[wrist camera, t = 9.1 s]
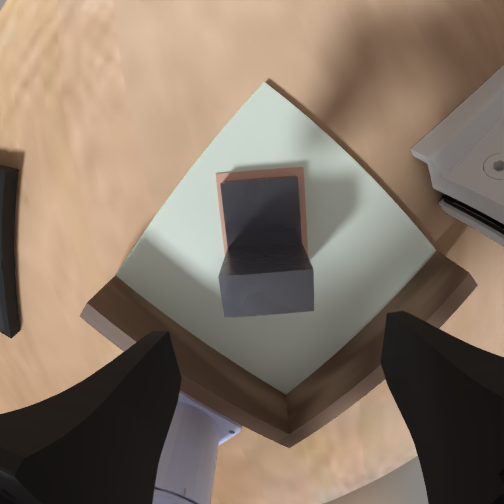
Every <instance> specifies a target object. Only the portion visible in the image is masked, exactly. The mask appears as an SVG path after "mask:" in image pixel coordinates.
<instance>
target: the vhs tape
mask: <svg viewBox="0 0 504 504" xmlns="http://www.w3.org/2000/svg"><path fill="white" fill-rule="evenodd" d="M18 171H19V170H18V169H14V168H10V167H5V166H1V165H0V332H1V333H3V334H5V335H6V336H8V337H10V338H12V337H13V336H15V335H16V334H17V333H18V332H19V331H20V322H19V314H18V305H17V295H16V281H15V259H14V226H15V204H16V191H17V180H18Z"/></svg>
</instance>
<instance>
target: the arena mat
mask: <svg viewBox="0 0 504 504" xmlns="http://www.w3.org/2000/svg"><path fill="white" fill-rule="evenodd" d="M282 176H297V177H298V186H299V201H300V218H301V236H302V244H303V246H304V248H305V251H306V253H307V255H308V258H309V260H310V262H311V265H312V267H313V271H314V311H309V312H298V313H286V314H274V315H260V316H245V317H228V318H224V313H223V306H222V299H221V292H220V286H219V279H218V276H219V273H220V270H221V267H222V264H223V261H224V258H225V255H226V252H227V249H228V247H227V238H226V230H225V221H224V213H223V204H222V195H221V186H220V183H222V182H226V181H235V180H246V179H257V178H269V177H282ZM435 252H436V249H435V248H434V247H433V246H432V244H431V243H430V242H429V241H428V239H427V238H426V237H425V236H424V235H423V233H422V232H421V231H420V230H419V229H418V227H417V226H416V225H415V224H414V223H413V222H412V220H411V219H410V218H409V217H408V216H407V215H406V213H405V212H404V211H403V210H402V209H401V208H400V207H399V206H398V205H397V203H396V202H395V201H394V200H393V199H392V198H391V197H390V196H389V195H388V194H387V193H386V191H385V190H384V189H383V188H382V187H381V186H380V185H379V184H378V183H377V182H376V181H375V180H374V179H373V178H372V177H371V176H370V175H369V174H368V173H367V172H366V171H365V170H364V169H363V168H362V167H361V166H360V165H359V164H358V163H357V162H356V161H355V160H354V159H353V158H352V157H351V156H350V155H349V154H348V153H347V152H346V151H345V150H344V149H343V148H342V147H341V146H339V145H338V144H337V143H336V142H335V141H334V140H333V139H332V138H331V137H330V136H329V135H328V134H326V133H325V132H324V131H323V130H322V129H321V128H320V127H319V126H317V125H316V124H315V123H314V122H313V121H312V120H311V119H309V118H308V117H307V116H306V115H305V114H304V113H302V112H301V111H300V110H299V109H298V108H296V107H295V106H294V105H293V104H292V103H290V102H289V101H288V100H287V99H285V98H284V97H283V96H282V95H280V94H279V93H278V92H277V91H275V90H274V89H273V88H272V87H270V86H269V85H268V84H266V83H265V82H264V83H263V84H262V85H261V86H260V87H259V88H258V89H257V90H256V91H255V93H254V94H253V95H252V96H251V97H250V98H249V99H248V100H247V101H246V103H245V104H244V105H243V106H242V107H241V108H240V109H239V111H238V112H237V113H236V114H235V115H234V116H233V117H232V119H231V120H230V121H229V122H228V123H227V124H226V126H225V127H224V128H223V129H222V130H221V132H220V133H219V134H218V135H217V136H216V138H215V139H214V140H213V141H212V142H211V144H210V145H209V146H208V147H207V149H206V150H205V151H204V152H203V154H202V155H201V156H200V157H199V159H198V160H197V161H196V162H195V164H194V165H193V166H192V168H191V169H190V170H189V171H188V173H187V174H186V175H185V177H184V178H183V179H182V181H181V182H180V183H179V184H178V186H177V187H176V188H175V190H174V191H173V192H172V194H171V195H170V197H169V198H168V199H167V201H166V202H165V203H164V205H163V206H162V208H161V209H160V210H159V212H158V213H157V215H156V216H155V217H154V219H153V220H152V222H151V223H150V224H149V226H148V227H147V229H146V230H145V232H144V233H143V235H142V236H141V237H140V239H139V240H138V242H137V243H136V245H135V246H134V248H133V249H132V251H131V252H130V254H129V255H128V257H127V258H126V260H125V262H124V263H123V265H122V266H121V268H120V269H119V271H118V272H117V274H116V276H117V277H118V278H119V279H121V280H122V281H123V282H124V283H126V284H127V285H128V286H129V287H131V288H132V289H133V290H134V291H136V292H137V293H138V294H139V295H141V296H142V297H143V298H144V299H146V300H147V301H148V302H150V303H151V304H152V305H154V306H155V307H156V308H157V309H159V310H160V311H161V312H163V313H164V314H165V315H167V316H168V317H169V318H171V319H172V320H174V321H175V322H176V323H178V324H179V325H180V326H182V327H183V328H185V329H186V330H187V331H189V332H190V333H192V334H193V335H194V336H196V337H197V338H199V339H200V340H202V341H203V342H204V343H206V344H207V345H209V346H210V347H212V348H213V349H215V350H216V351H218V352H219V353H221V354H222V355H224V356H225V357H227V358H228V359H230V360H231V361H233V362H234V363H236V364H237V365H239V366H240V367H242V368H243V369H245V370H247V371H248V372H250V373H251V374H253V375H254V376H256V377H258V378H259V379H261V380H262V381H264V382H266V383H267V384H269V385H271V386H272V387H274V388H276V389H277V390H279V391H281V392H282V393H284V394H287V393H289V392H290V391H291V390H292V389H294V388H295V387H296V386H297V385H299V384H300V383H301V382H302V381H304V380H305V379H306V378H307V377H309V376H310V375H311V374H312V373H313V372H315V371H316V370H317V369H318V368H319V367H321V366H322V365H323V364H324V363H325V362H326V361H328V360H329V359H330V358H331V357H332V356H333V355H334V354H336V353H337V352H338V351H339V350H340V349H341V348H342V347H343V346H344V345H346V344H347V343H348V342H349V341H350V340H351V339H352V338H353V337H354V336H355V335H356V334H358V333H359V332H360V331H361V330H362V329H363V328H364V327H365V326H366V325H367V324H368V323H369V322H370V321H371V320H372V319H373V318H374V317H375V316H376V315H377V314H378V313H379V312H380V311H381V310H382V309H383V308H384V307H385V306H386V305H387V304H388V303H389V302H390V301H391V300H392V299H393V298H394V297H395V296H396V295H397V294H398V293H399V292H400V291H401V290H402V289H403V288H404V287H405V286H406V284H407V283H408V282H409V281H410V280H411V279H412V278H413V277H414V276H415V275H416V274H417V272H418V271H419V270H420V269H421V268H422V267H423V266H424V265H425V264H426V262H427V261H428V260H429V259H430V258H431V257H432V255H433V254H434V253H435Z"/></svg>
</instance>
